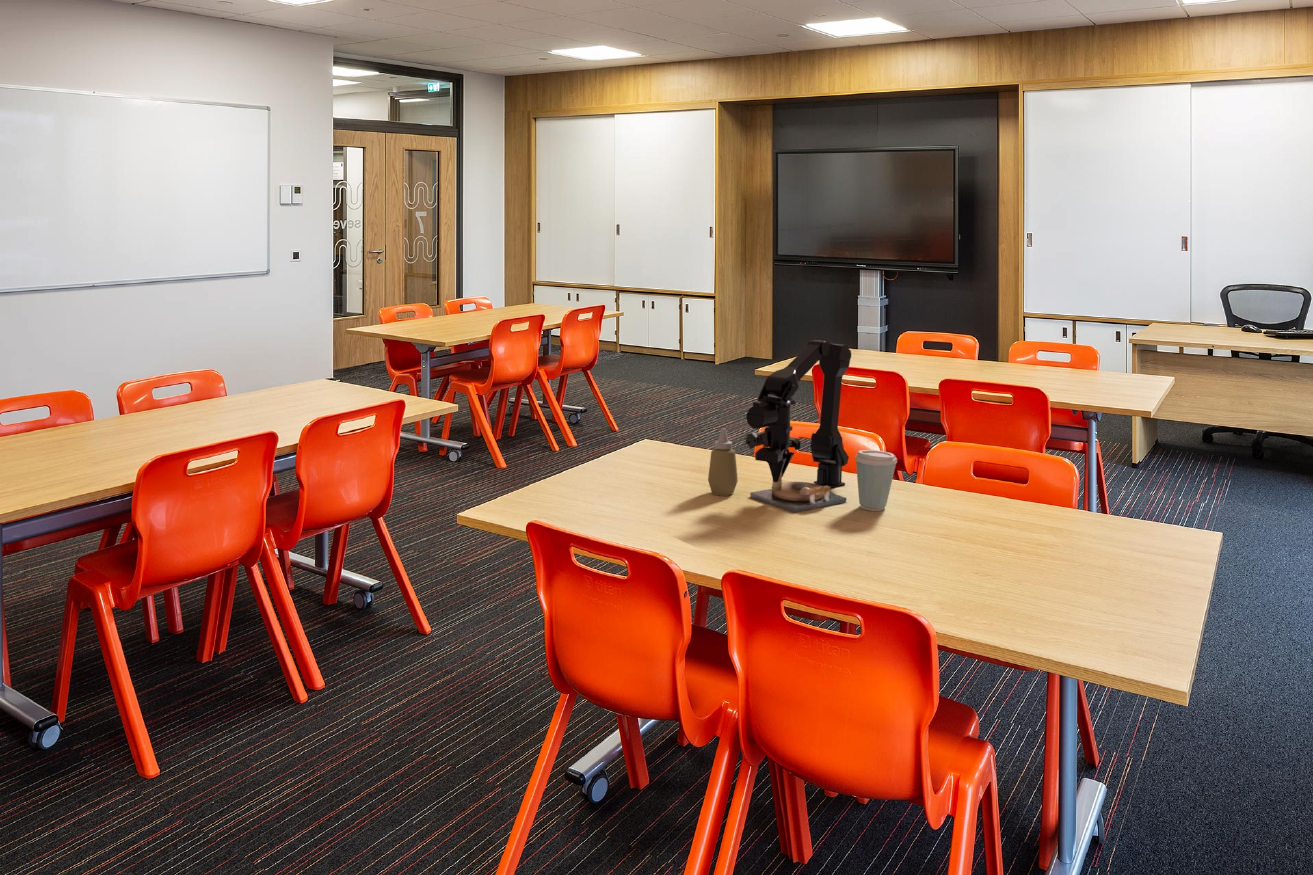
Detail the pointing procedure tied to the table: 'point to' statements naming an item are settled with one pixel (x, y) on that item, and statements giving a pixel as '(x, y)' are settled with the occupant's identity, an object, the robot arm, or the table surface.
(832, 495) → the level stand
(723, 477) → the squeeze bottle
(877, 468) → the disposable coffee cup
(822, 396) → the robot arm
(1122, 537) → the table surface
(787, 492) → the cam dial
